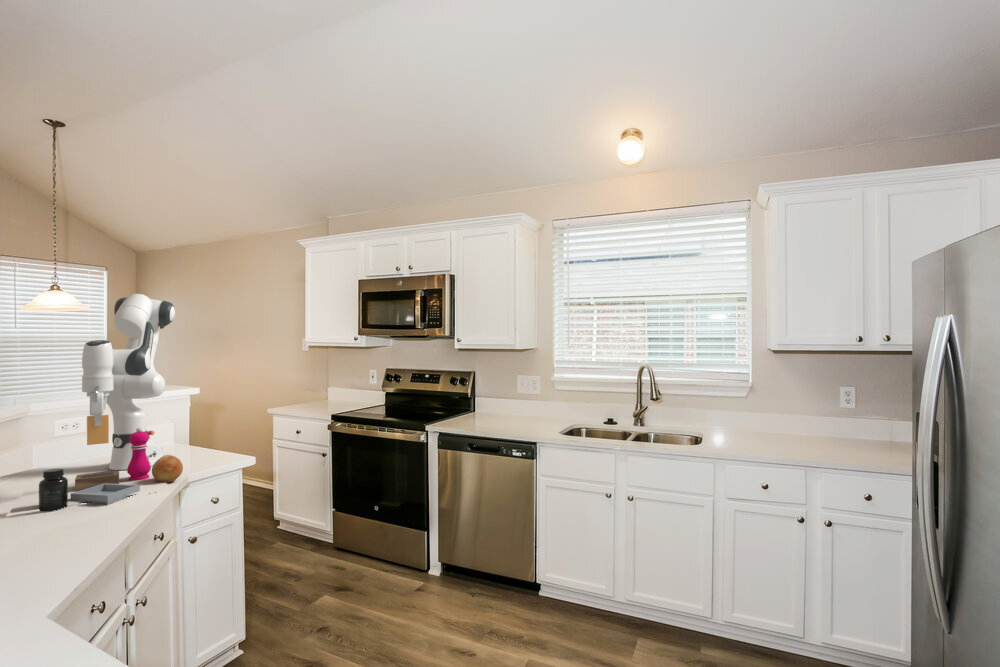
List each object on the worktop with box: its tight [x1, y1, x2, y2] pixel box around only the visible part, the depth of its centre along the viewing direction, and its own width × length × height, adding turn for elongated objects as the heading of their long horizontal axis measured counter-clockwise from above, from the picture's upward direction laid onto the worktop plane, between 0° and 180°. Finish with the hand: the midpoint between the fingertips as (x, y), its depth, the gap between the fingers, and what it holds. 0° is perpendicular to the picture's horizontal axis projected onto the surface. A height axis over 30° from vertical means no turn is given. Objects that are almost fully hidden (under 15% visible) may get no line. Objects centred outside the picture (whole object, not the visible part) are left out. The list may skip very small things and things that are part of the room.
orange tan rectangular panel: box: [86, 414, 110, 446], centre depth 183 cm, size 1×6×10 cm, turn 125°
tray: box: [70, 483, 141, 506], centre depth 172 cm, size 12×14×3 cm
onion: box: [151, 454, 184, 484], centre depth 191 cm, size 10×10×10 cm
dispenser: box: [74, 470, 120, 492], centre depth 183 cm, size 8×12×6 cm, turn 125°
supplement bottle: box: [38, 467, 69, 512], centre depth 162 cm, size 7×7×12 cm
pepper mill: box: [126, 427, 152, 482], centre depth 193 cm, size 7×7×20 cm
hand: (98, 425), depth 183 cm, fingers closed on orange tan rectangular panel, 1 cm apart
